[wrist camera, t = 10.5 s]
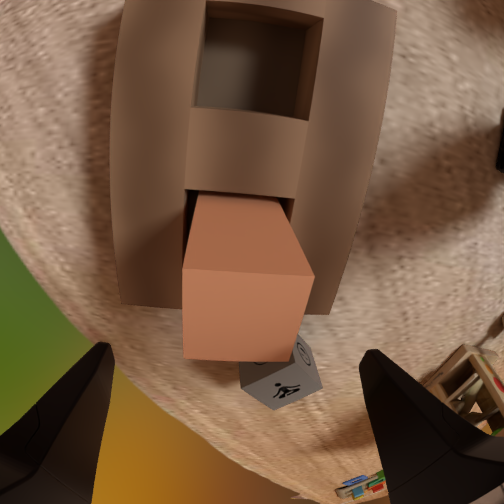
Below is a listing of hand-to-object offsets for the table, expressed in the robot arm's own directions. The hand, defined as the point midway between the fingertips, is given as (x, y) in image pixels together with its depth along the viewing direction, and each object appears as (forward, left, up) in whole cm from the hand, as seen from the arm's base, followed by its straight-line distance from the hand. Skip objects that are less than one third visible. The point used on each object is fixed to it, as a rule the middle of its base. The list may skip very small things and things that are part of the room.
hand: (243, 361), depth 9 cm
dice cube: (-5, +12, -13) cm, 19 cm away
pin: (0, 0, -12) cm, 12 cm away
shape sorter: (-48, +82, -13) cm, 96 cm away
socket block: (0, -5, -12) cm, 13 cm away
